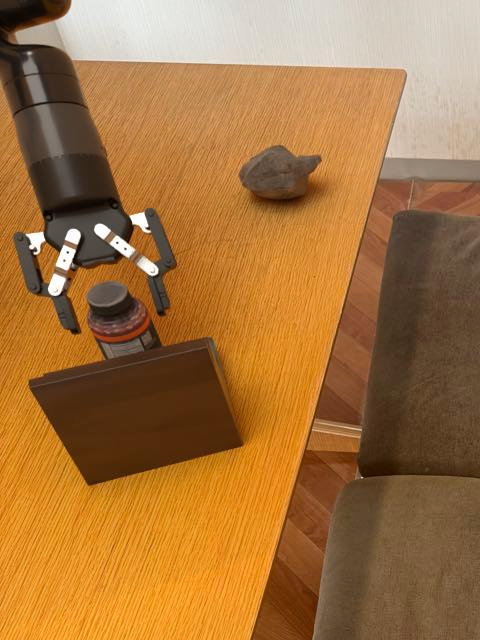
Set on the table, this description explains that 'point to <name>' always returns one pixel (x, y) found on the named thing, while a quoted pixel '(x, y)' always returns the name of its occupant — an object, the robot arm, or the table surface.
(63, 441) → the brown wooden box
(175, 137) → the table surface
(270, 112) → the table surface
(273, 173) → the fossil
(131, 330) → the supplement bottle
